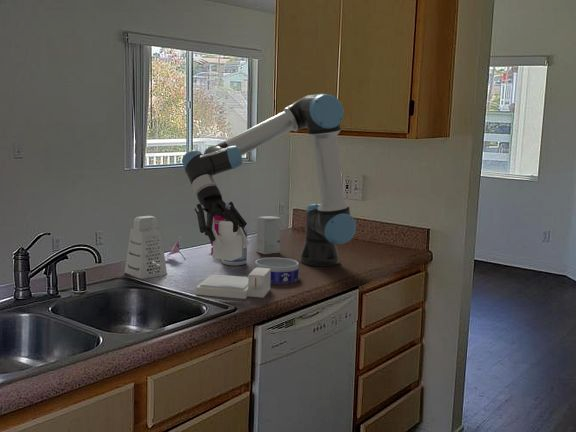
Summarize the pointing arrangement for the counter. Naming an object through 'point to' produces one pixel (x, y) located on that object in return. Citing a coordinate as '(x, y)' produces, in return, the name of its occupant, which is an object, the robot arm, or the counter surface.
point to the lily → (175, 249)
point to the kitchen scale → (237, 285)
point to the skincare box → (268, 234)
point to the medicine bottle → (228, 241)
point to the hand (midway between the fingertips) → (233, 247)
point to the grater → (145, 250)
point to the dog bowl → (280, 269)
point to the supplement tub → (242, 259)
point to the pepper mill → (216, 226)
